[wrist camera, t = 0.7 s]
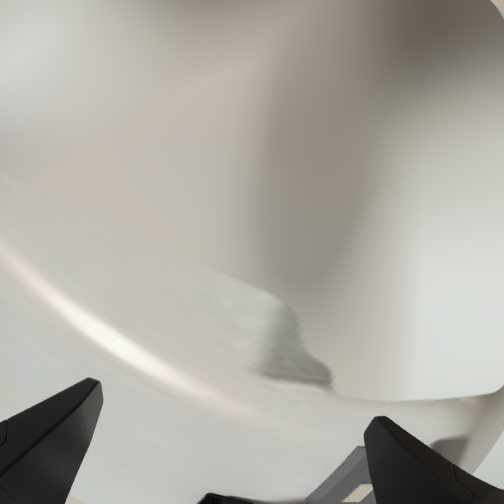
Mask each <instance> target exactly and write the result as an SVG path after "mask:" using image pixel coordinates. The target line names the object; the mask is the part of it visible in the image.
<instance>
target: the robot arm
mask: <svg viewBox="0 0 504 504" xmlns="http://www.w3.org/2000/svg"><path fill="white" fill-rule="evenodd" d="M102 405H103V393H102V386H101V382H100V381H99V380H96V379H93V378H86V379H84V380H82V381H80V382H78V383H76V384H75V385H73V386H71V387H69V388H67V389H65V390H63V391H61V392H59V393H57V394H56V395H54V396H52V397H50V398H48V399H46V400H44V401H42V402H40V403H38V404H36V405H34V406H32V407H30V408H28V409H26V410H24V411H22V412H20V413H18V414H16V415H14V416H12V417H10V418H8V420H4V421H2V422H0V504H65V502H66V499H67V497H68V494H69V492H70V489H71V487H72V484H73V482H74V479H75V477H76V475H77V472H78V470H79V468H80V465H81V463H82V461H83V458H84V456H85V454H86V452H87V449H88V447H89V445H90V442H91V440H92V437H93V433H94V430H95V427H96V424H97V421H98V418H99V414H100V411H101V408H102ZM364 443H365V449H366V456H367V464H368V470H369V475H370V479H371V483H372V487H373V491H374V495H375V500H376V504H504V490H503V489H499V488H497V487H494V486H492V485H490V484H488V483H486V482H484V481H482V480H480V479H478V478H476V477H474V476H472V475H471V474H469V473H467V472H466V471H464V470H462V469H461V468H459V467H458V466H456V465H455V464H453V463H452V462H450V461H449V460H447V459H446V458H444V457H443V456H441V455H440V454H438V453H437V452H435V451H434V450H432V449H431V448H430V447H428V446H427V445H425V444H424V443H422V442H421V441H420V440H418V439H417V438H415V437H414V436H412V435H411V434H410V433H408V432H407V431H406V430H404V429H403V428H401V427H400V426H399V425H397V424H396V423H395V422H393V421H392V420H390V419H389V418H388V417H386V416H377V417H374V418H373V420H372V421H371V423H370V424H369V426H368V427H367V429H366V430H365V432H364ZM197 504H252V503H247V502H242V501H237V500H233V499H229V498H225V497H221V496H217V495H213V494H206V495H205V496H204V497H203V498H202V499H201V500H200V501H199V502H198V503H197Z"/></svg>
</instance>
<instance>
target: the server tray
mask: <svg viewBox="0 0 504 504" xmlns="http://www.w3.org/2000/svg"><path fill="white" fill-rule="evenodd" d="M440 455H441V454H440ZM441 456H442V455H441ZM306 503H307V504H376V500H375V495H374V491H373V487H372V483H371V479H370V475H369V470H368V464H367V456H366V449H365V447H358V446H357V447H356V449H355V450H354V451H353V452H352V453H351V454H350V455H349V456H348V458H347V459H346V460H345V461H344V462H343V463H342V464H341V465H340V466H339V467H338V468H337V469H336V470H335V471H334V472H333V473H332V474H331V475H330V476H329V477H328V478H327V479H326V480H325V481H324V482H323V483H322V484H321V485H320V486H319V487H318V488H317V489H316V490H315V491H314V492H313V493H311V494H310V495H309V496H308V497H307V498H306Z"/></svg>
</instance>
